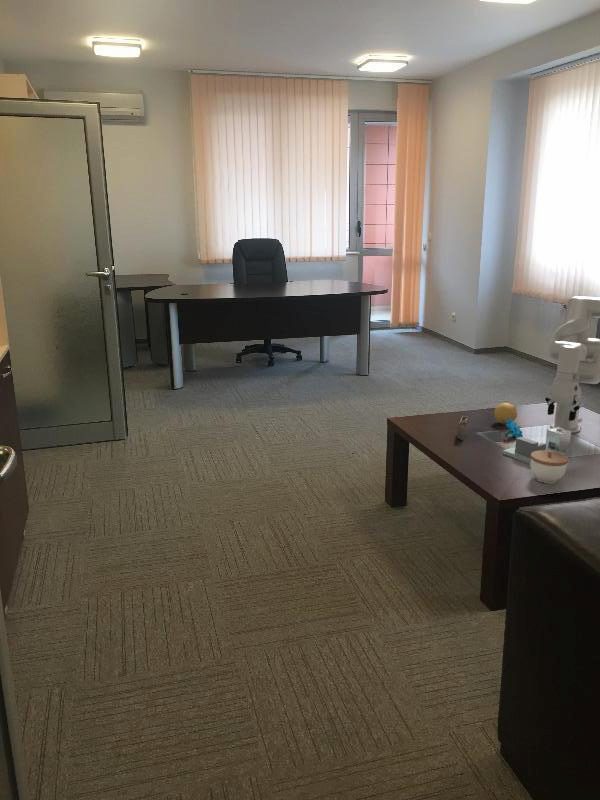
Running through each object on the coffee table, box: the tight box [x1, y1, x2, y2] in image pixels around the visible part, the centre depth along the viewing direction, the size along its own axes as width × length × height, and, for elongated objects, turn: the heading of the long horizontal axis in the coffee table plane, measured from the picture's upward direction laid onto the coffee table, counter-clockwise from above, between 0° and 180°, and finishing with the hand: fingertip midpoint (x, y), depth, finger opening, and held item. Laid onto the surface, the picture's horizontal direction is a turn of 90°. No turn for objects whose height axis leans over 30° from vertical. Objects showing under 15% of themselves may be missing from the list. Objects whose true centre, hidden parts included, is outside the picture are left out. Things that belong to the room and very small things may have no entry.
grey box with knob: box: [545, 427, 572, 453], centre depth 265 cm, size 7×6×8 cm
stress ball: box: [494, 402, 518, 426], centre depth 296 cm, size 10×10×10 cm
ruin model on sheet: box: [457, 415, 469, 441], centre depth 279 cm, size 11×3×10 cm, turn 159°
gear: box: [504, 419, 524, 439], centre depth 280 cm, size 11×6×10 cm
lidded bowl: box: [529, 450, 569, 484], centre depth 233 cm, size 13×13×11 cm
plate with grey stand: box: [502, 436, 567, 465], centre depth 257 cm, size 18×16×8 cm
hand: (560, 417), depth 262 cm, fingers open, 9 cm apart
